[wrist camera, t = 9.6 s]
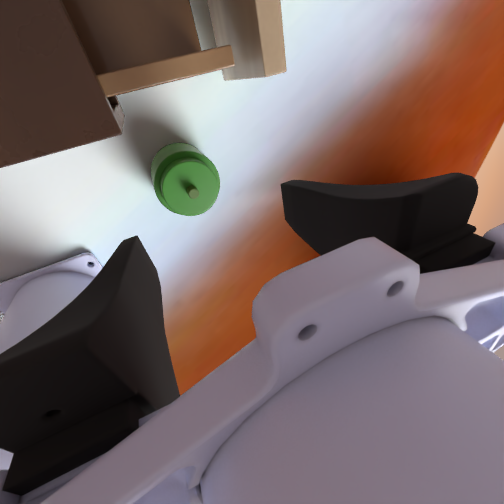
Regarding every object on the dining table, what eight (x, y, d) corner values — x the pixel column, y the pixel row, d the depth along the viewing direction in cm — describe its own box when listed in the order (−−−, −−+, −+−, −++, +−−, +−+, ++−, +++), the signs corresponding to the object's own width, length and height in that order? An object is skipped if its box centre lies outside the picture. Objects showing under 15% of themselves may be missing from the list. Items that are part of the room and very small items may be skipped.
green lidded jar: (215, 190, 22) (234, 212, 18) (164, 208, 21) (173, 235, 17) (199, 135, 19) (217, 147, 15) (139, 152, 18) (142, 170, 14)
